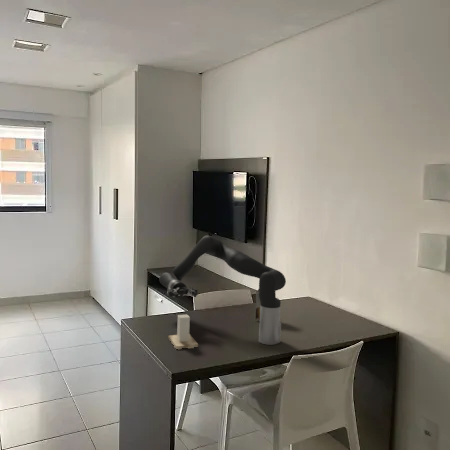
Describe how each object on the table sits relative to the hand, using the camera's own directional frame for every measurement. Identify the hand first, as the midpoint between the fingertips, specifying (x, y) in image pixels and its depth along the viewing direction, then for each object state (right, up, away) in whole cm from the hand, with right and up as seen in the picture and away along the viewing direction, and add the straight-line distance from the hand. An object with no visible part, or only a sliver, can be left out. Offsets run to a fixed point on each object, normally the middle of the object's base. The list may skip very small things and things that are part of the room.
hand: (186, 295), depth 223 cm
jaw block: (-1, -19, -9) cm, 21 cm away
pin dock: (-1, -20, -9) cm, 22 cm away
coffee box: (+39, -18, +29) cm, 52 cm away
